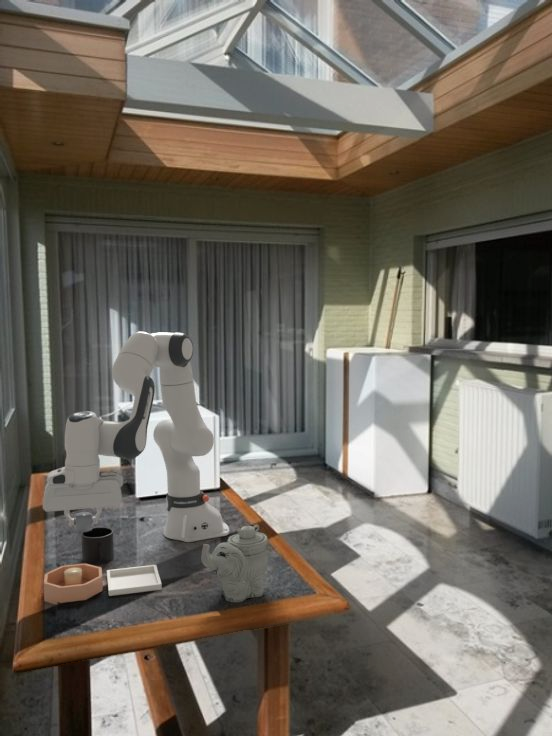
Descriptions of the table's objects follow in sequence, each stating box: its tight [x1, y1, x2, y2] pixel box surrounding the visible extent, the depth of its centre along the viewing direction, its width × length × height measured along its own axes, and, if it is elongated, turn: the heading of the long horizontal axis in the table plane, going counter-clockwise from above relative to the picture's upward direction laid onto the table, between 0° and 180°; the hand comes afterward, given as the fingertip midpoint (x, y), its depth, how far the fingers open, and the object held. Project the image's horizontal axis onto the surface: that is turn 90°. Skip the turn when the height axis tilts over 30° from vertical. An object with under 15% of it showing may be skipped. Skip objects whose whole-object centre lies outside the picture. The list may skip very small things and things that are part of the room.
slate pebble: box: [73, 511, 94, 533], centre depth 173 cm, size 5×5×4 cm
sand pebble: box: [64, 568, 82, 586], centre depth 180 cm, size 5×5×4 cm
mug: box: [80, 526, 115, 565], centre depth 198 cm, size 9×12×9 cm
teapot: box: [200, 524, 269, 603], centre depth 175 cm, size 16×15×19 cm
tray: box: [106, 564, 163, 597], centre depth 182 cm, size 14×14×2 cm
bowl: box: [43, 563, 104, 606], centre depth 177 cm, size 15×15×5 cm
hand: (83, 524), depth 173 cm, fingers closed on slate pebble, 5 cm apart
